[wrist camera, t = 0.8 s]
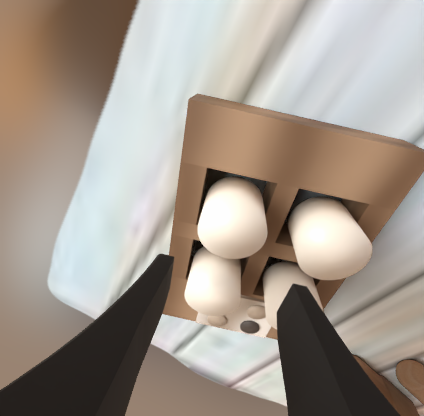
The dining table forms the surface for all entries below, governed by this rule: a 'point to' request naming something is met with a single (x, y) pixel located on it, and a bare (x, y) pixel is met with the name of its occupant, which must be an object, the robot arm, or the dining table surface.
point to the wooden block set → (408, 376)
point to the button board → (280, 189)
